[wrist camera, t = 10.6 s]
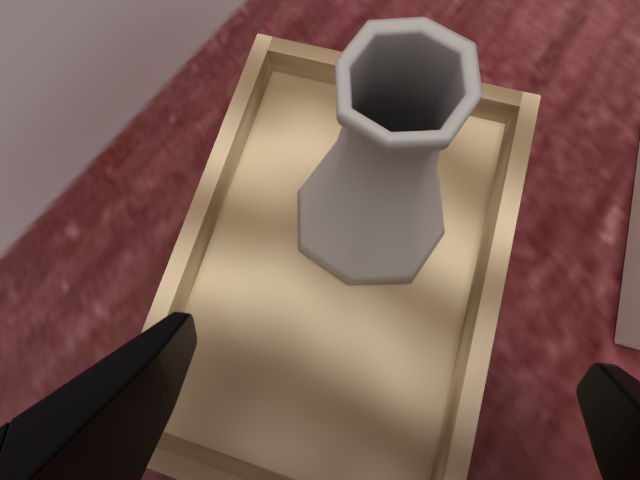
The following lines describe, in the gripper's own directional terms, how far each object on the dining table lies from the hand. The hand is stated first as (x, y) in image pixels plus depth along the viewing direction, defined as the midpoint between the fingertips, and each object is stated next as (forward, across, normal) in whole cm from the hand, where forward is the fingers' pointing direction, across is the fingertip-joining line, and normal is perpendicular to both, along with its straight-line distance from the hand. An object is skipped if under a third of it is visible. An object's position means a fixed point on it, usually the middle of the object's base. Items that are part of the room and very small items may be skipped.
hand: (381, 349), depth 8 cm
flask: (+10, 0, +2) cm, 10 cm away
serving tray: (+9, +2, +4) cm, 10 cm away
